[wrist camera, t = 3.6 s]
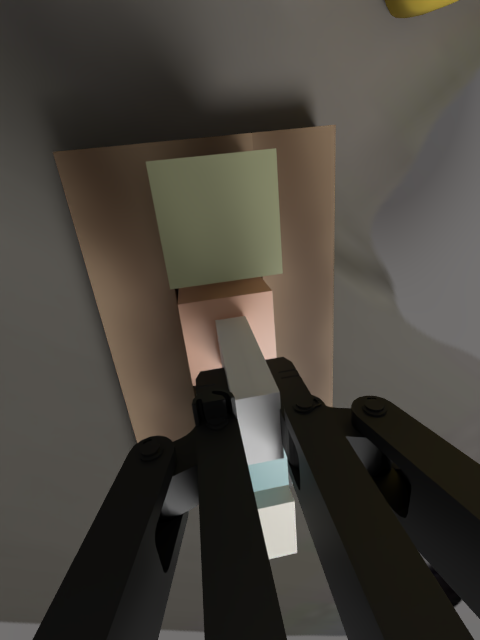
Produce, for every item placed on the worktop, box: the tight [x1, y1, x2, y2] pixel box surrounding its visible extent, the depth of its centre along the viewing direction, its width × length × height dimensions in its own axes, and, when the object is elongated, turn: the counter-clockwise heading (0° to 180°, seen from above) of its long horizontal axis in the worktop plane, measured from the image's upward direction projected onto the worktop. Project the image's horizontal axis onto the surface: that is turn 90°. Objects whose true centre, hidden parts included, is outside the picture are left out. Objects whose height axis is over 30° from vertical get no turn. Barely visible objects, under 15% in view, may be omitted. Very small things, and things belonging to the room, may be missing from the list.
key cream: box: [254, 485, 297, 559], centre depth 22 cm, size 5×5×5 cm
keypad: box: [53, 125, 336, 486], centre depth 22 cm, size 14×25×2 cm, turn 6°
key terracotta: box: [178, 277, 277, 386], centre depth 19 cm, size 5×5×5 cm
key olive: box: [146, 148, 283, 289], centre depth 15 cm, size 5×5×5 cm
